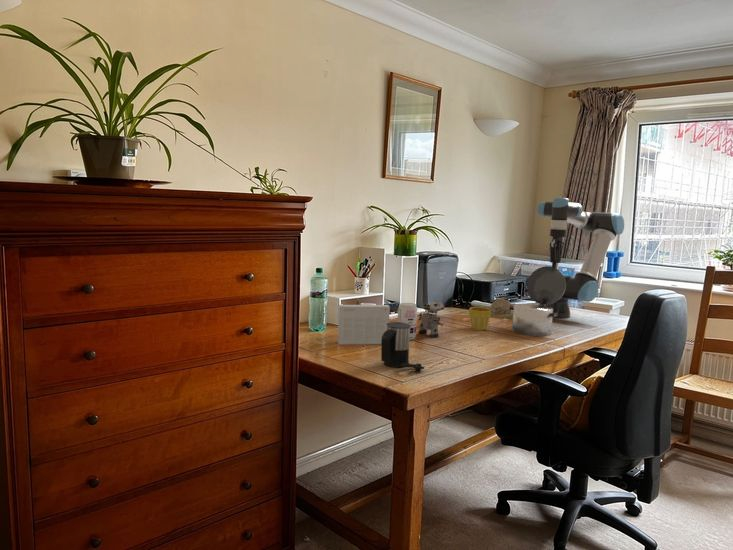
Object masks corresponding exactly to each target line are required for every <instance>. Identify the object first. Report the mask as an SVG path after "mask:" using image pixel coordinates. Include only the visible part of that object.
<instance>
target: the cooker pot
mask: <svg viewBox="0 0 733 550" xmlns="http://www.w3.org/2000/svg"><path fill="white" fill-rule="evenodd" d="M510 310H511V311H513V312H512V314H513V318H512V323H511V324H512V327H511V331H512V332H514V333H516V334H520V335H525V336H531V337H545V336H546V337H548V336H551V335H552V326H553V318H555V317H556V316H557V313H556V312H553V308H552V307H549V306H546V305H543V304H539V303H538V304H536V303H516V304H513V305H512V306H510ZM550 334H551V335H550ZM547 335H548V336H547Z"/></svg>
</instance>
